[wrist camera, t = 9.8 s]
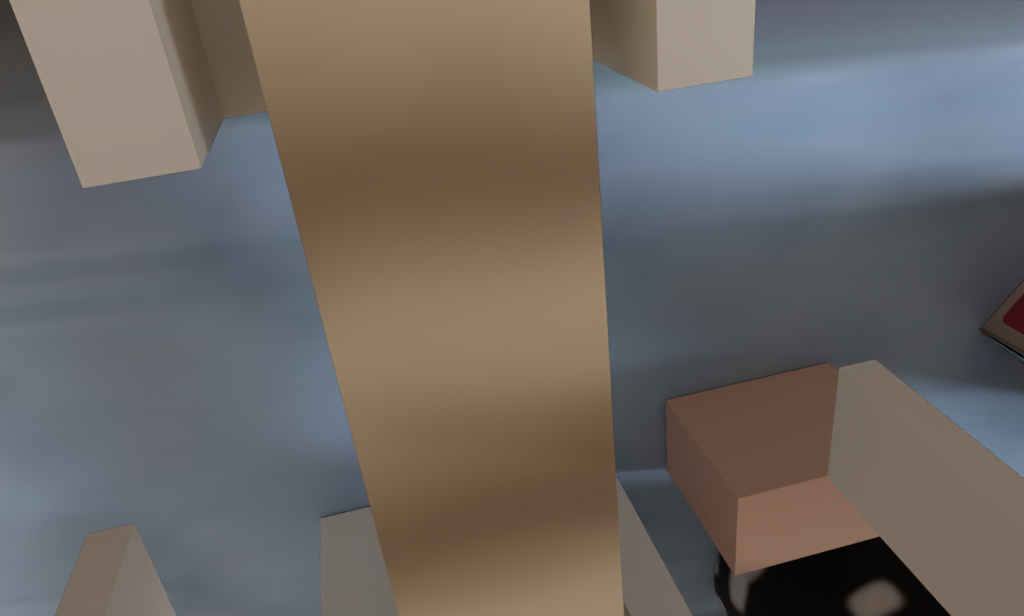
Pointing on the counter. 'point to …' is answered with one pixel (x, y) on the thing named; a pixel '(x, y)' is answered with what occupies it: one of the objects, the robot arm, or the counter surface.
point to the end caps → (237, 91)
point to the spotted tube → (828, 586)
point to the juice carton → (1008, 324)
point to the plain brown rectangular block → (763, 467)
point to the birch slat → (459, 285)
